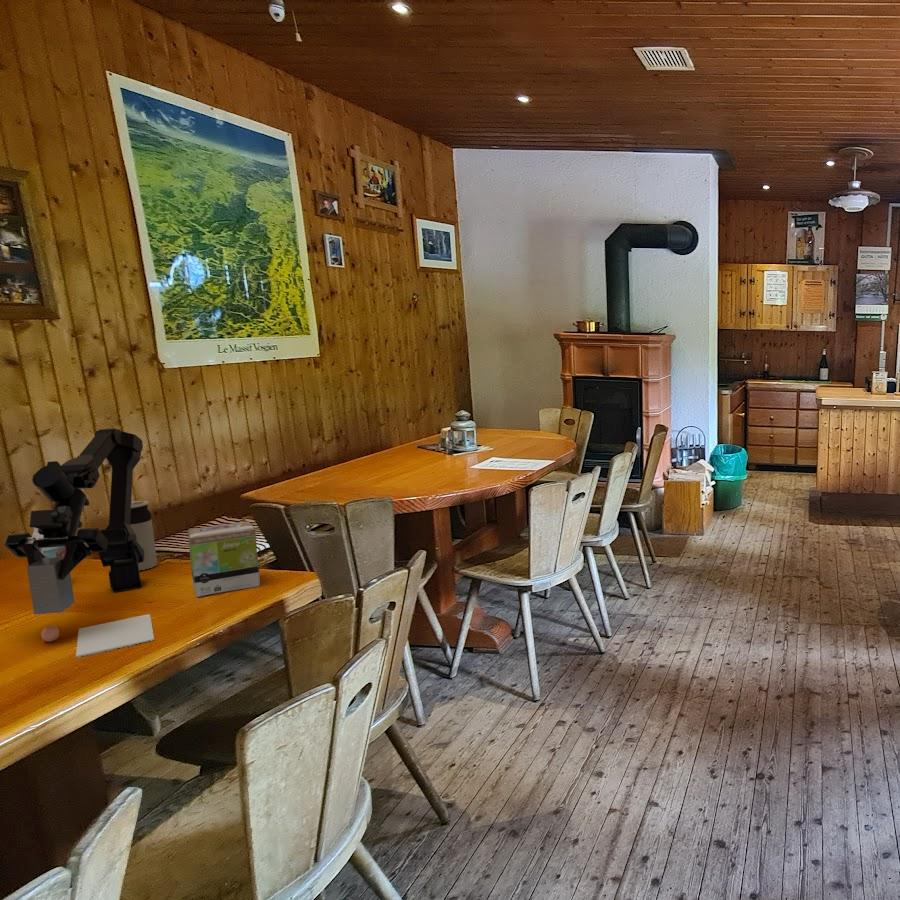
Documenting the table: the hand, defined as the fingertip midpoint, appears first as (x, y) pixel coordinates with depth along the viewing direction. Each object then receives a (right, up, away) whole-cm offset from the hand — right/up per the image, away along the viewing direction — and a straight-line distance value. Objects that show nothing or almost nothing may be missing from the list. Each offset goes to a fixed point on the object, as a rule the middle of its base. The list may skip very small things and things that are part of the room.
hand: (46, 579), depth 141 cm
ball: (-1, -13, +3) cm, 14 cm away
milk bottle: (-21, -9, +39) cm, 45 cm away
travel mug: (-3, -6, +52) cm, 52 cm away
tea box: (+27, -8, +31) cm, 41 cm away
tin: (0, -6, +2) cm, 7 cm away
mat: (+12, -12, +4) cm, 18 cm away
